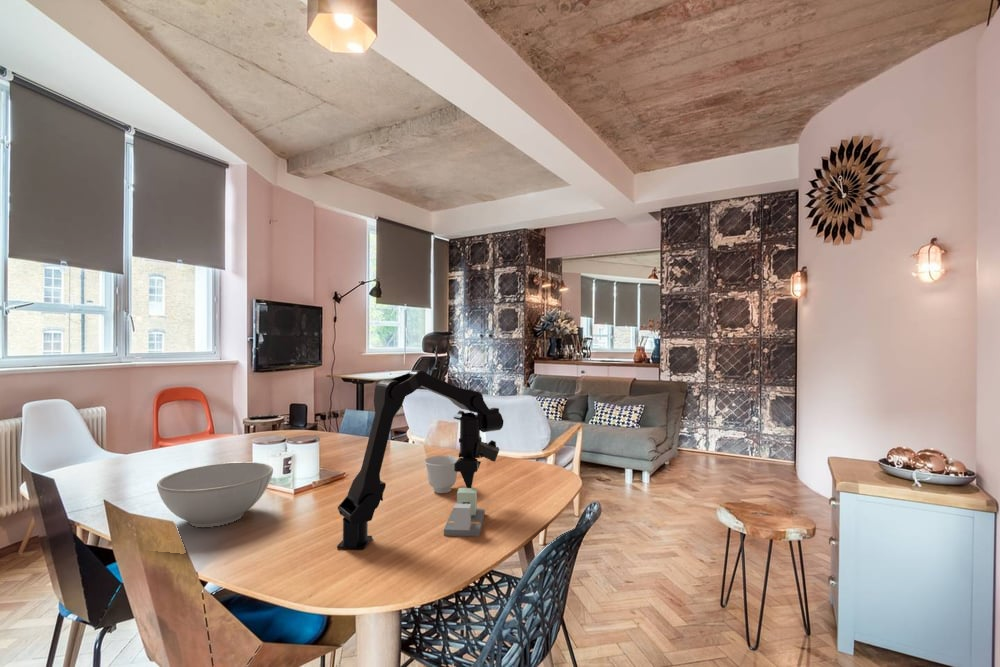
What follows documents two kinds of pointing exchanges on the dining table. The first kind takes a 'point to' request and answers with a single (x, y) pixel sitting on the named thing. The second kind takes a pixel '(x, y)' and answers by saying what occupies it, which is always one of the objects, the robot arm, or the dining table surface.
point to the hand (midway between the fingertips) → (469, 488)
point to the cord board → (466, 533)
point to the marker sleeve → (468, 498)
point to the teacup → (441, 472)
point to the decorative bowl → (214, 491)
